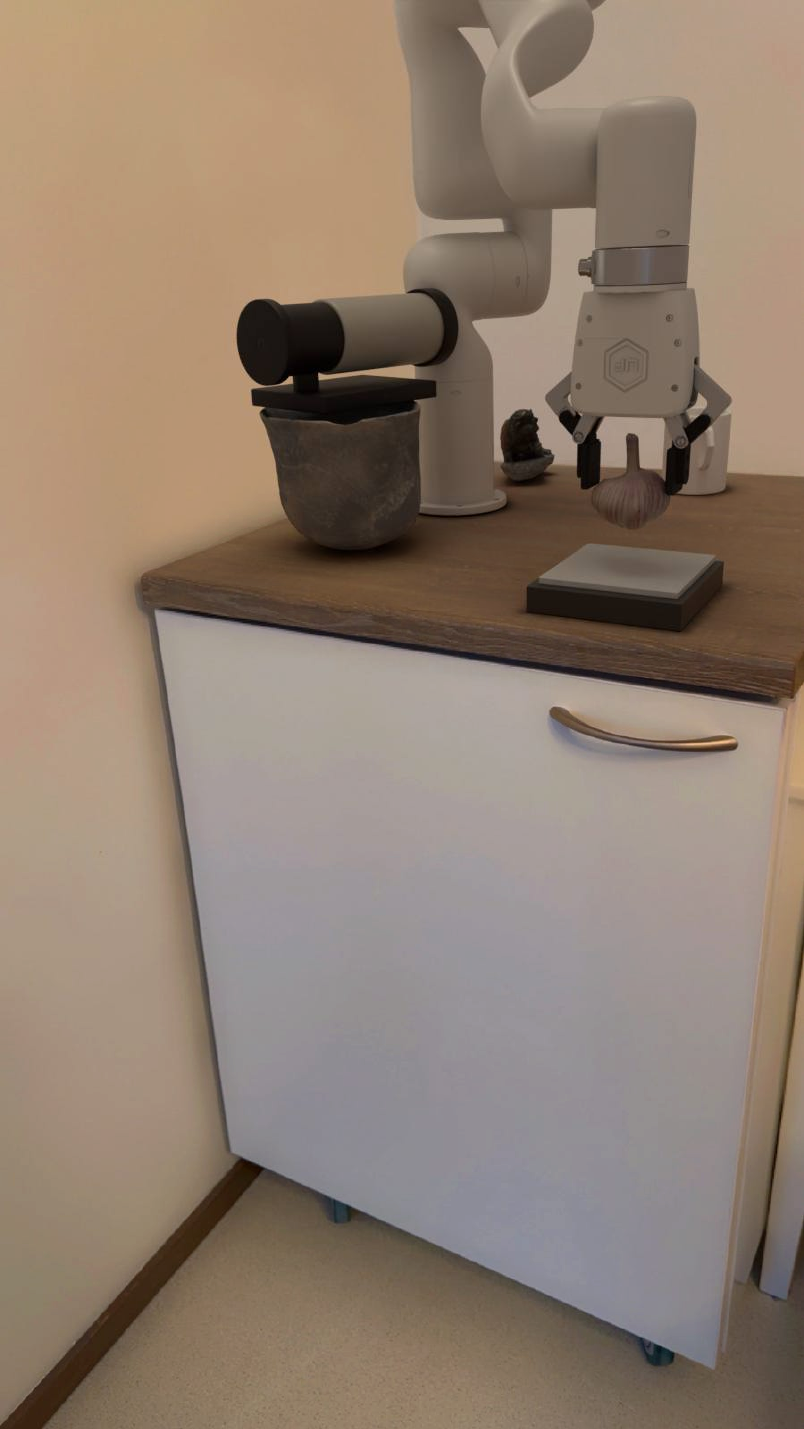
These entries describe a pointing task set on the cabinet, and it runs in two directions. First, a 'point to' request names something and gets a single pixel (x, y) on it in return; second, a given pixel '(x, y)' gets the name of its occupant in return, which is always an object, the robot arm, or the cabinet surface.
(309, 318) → the light fixture
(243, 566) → the cabinet surface
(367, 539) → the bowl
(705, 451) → the mug
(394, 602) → the cabinet surface
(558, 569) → the scale
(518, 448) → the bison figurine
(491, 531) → the cabinet surface
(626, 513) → the garlic bulb
